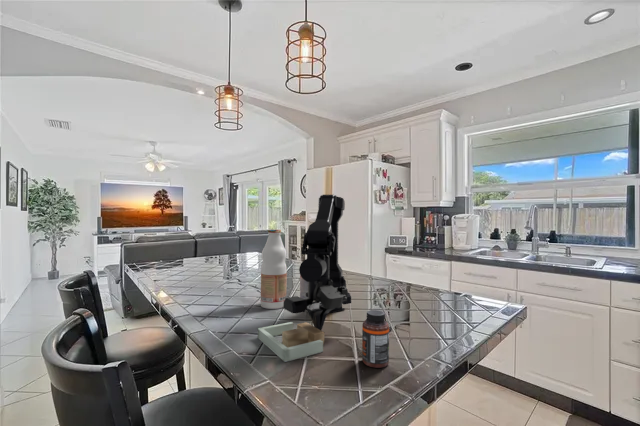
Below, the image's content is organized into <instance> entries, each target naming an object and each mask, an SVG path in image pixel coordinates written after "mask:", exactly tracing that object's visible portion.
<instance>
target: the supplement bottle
mask: <svg viewBox="0 0 640 426" xmlns="http://www.w3.org/2000/svg"><path fill="white" fill-rule="evenodd" d="M385 315H386V313H385V312H384V311H382V310H380V309H379V310H377V309H369V310H368V311H366V319H365V320H364V321H362V326H361V327H362V329H361V331H362V339H361V341H362V343H361V359H362V363H364V365H366V366H367V367H370V368H372V369H373V368H375V369H381V368H385V367H387V366H388V365H389V363H390V362H389V361H390V326H389V323H388V322H387V321H386V320H385V319H386V316H385Z"/></svg>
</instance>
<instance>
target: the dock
mask: <svg viewBox="0 0 640 426" xmlns="http://www.w3.org/2000/svg"><path fill="white" fill-rule="evenodd" d="M293 329H294V322H293V321H290V322H289V321H287V322H284V323H279V324H274V325H269V326H268V325H267V326H263V327H262V326H261V327H258V328H257V339H258V340H259V341H260V342H261V343H263V344H264V345H265V346H266V347H267V348H269V349H270V351H272V352H273V353H274V354H275V355H277V357H278V358H279V359H281V360H282V361H283V362H284V363H285V362H290V361H291V362H292V361H294V360H298V359H301V358H305V357H310V356H313V355H316V354H320V353H323V352H324V344H323V341H321V340H317V341H313V342H309V343H304V344H300V345H296V346H292V347H288V348H287V347H286V346H285V345H284V344H282V342H281V341H280V340H279V339H277V338H276V336H281V335H282V332H283V331H288V330H293Z"/></svg>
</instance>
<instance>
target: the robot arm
mask: <svg viewBox="0 0 640 426" xmlns="http://www.w3.org/2000/svg"><path fill="white" fill-rule="evenodd" d="M344 199H345V198H344V197H341V196H337V195H335V194H322V195H320V196H319V197H318V205H317V206H318V209H317V214H316V216H315V217H316V218H315V220H314V222H312V223H311V224H309V226H308V228H307V230H306V232H304V237H303V242H302V247H301V253H300V254H301V255H306V258H305V259H304V260H303V261H302V262H301V263H300V266H299V267H298V269H299V270H298V272H299V274H300V275H301V277H302V278H303V279H304V280H305V281H306V282H308V292H307V293H306V297H308V299H303V298H300V296H298V295H295V296H290V297H289V296H287V297H286V299H285V301H284V307H282V308H283V309H284V310H286V311H287V312H289V313H291V314H300V313H305V312H307V314H308V316H309V317H310V320H311V321H312V324H313V325H312V326H314V327H316V328H318V329H319V330H321V331H323V330H322V329H323V327H324V324H325V321H326V318H327V317H328V314H331V313H336V312H341V311H345V310H346V309H345V308H344V307H343V305H349V304H352V295H351V293H350V292H349V290H348V288H347V280H346V278H345V276H344V275H343V270H342V267H341V266H340V264H339V222H340V220H341V218H342V217H343V215H344V211H345V205H346V204H345V203H346V202H345V200H344ZM300 275H299V276H300ZM313 301H314V302H313Z"/></svg>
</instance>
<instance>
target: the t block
mask: <svg viewBox="0 0 640 426" xmlns="http://www.w3.org/2000/svg"><path fill="white" fill-rule="evenodd" d="M317 340H321V341H323V345H325V332H324V331H323V330H319V329H318V328H316V327H314V325H312V324H310V323H309V322H307V321H306V322H301V323H297V324H296V328H293V330H288V331H283V332H282V337H281V341H282V342H281V343H282V344H283V345H285V346H286V347H287V348H288V347H292V346H297V345H301V344H305V343H309V342H313V341H317Z"/></svg>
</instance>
